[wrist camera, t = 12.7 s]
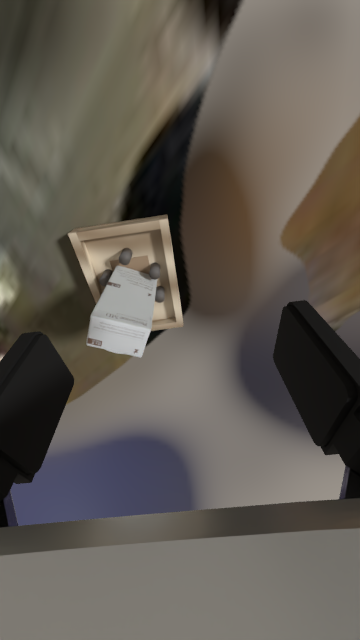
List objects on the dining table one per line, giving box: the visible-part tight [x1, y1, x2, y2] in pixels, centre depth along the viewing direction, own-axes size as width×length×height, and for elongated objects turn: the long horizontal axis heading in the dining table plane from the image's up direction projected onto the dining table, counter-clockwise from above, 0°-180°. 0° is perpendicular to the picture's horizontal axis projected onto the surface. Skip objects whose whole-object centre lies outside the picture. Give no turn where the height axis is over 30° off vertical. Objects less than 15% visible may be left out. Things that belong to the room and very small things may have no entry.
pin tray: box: [68, 215, 183, 331], centre depth 32 cm, size 16×12×4 cm
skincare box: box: [86, 266, 158, 357], centre depth 27 cm, size 6×4×12 cm
